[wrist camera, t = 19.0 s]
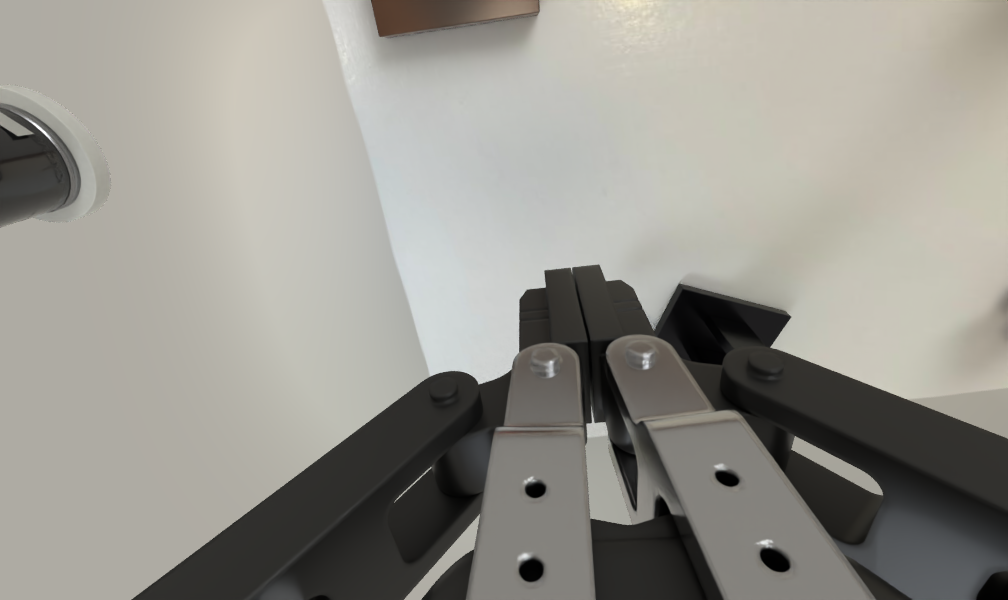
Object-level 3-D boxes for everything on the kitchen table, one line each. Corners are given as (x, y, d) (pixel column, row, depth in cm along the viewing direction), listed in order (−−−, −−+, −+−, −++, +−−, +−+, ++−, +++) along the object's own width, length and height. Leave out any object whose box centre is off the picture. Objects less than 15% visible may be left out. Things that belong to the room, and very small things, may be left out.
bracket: (642, 352, 48) (683, 450, 36) (678, 283, 44) (738, 368, 32) (740, 375, 50) (812, 478, 38) (785, 310, 45) (881, 403, 33)
